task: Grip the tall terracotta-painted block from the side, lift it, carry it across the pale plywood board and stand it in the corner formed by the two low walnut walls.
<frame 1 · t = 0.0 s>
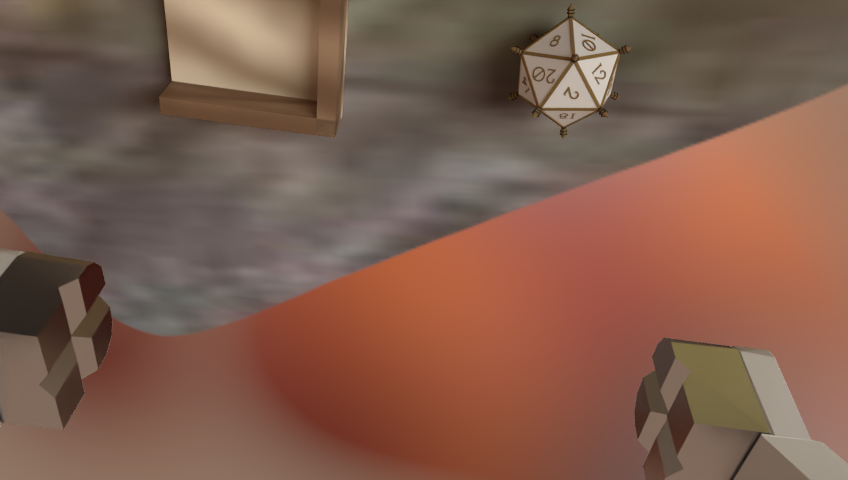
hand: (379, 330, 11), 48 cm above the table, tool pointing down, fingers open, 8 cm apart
game die: (562, 51, 58), on the table
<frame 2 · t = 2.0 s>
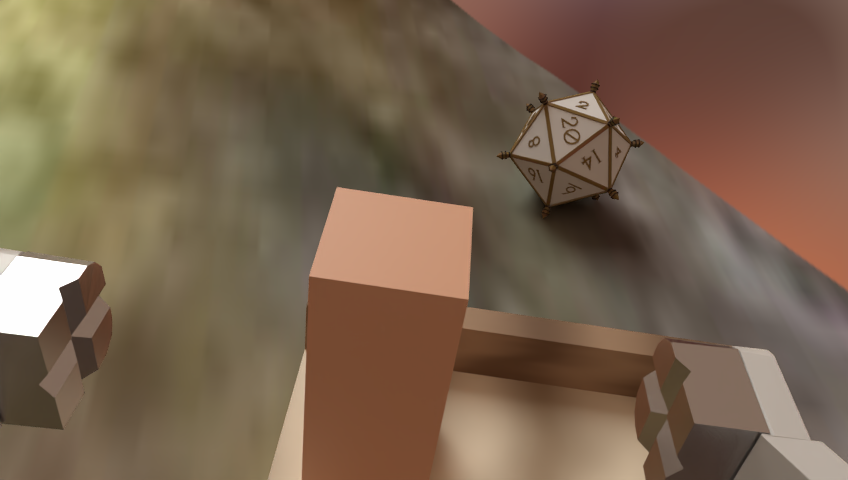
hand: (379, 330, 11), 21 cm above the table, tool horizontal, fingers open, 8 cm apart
terracotta block: (369, 453, 32), point 1 cm above the table, touching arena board
game die: (555, 200, 52), on the table
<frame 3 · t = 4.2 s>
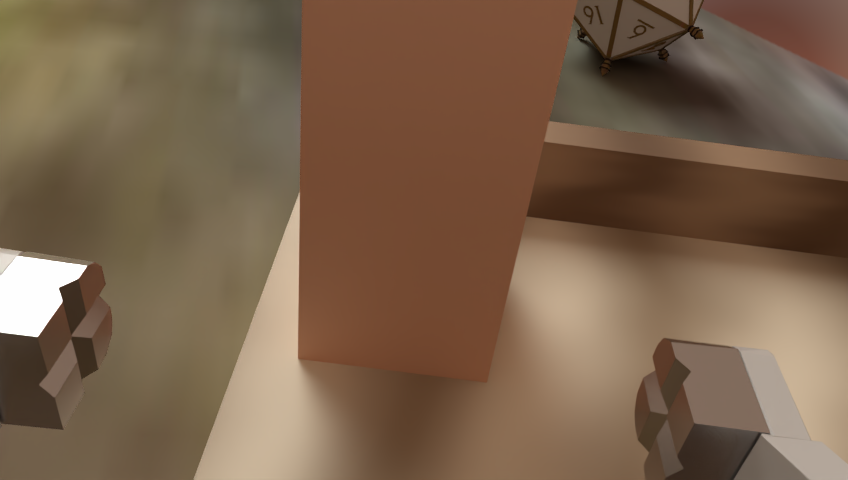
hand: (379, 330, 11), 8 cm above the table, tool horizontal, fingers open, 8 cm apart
terracotta block: (401, 307, 21), point 1 cm above the table, touching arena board
game die: (614, 61, 42), on the table
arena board: (630, 361, 22), on the table
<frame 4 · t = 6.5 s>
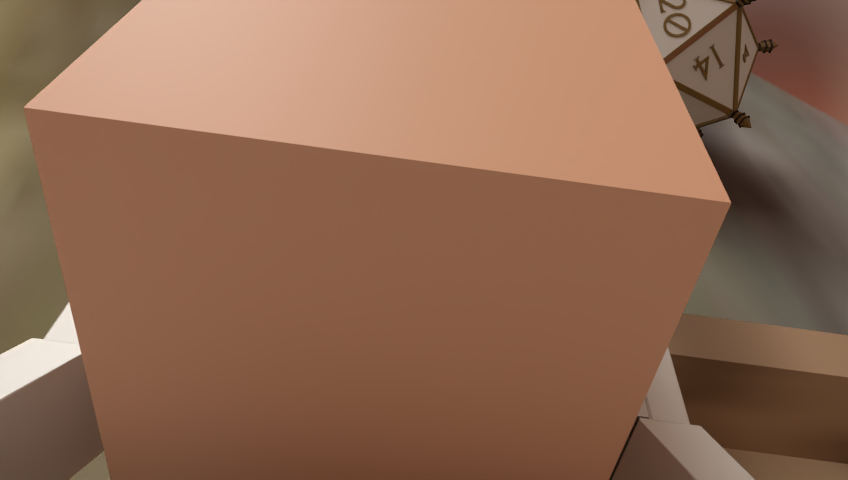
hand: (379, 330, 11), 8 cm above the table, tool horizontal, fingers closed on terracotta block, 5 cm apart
game die: (636, 141, 34), on the table
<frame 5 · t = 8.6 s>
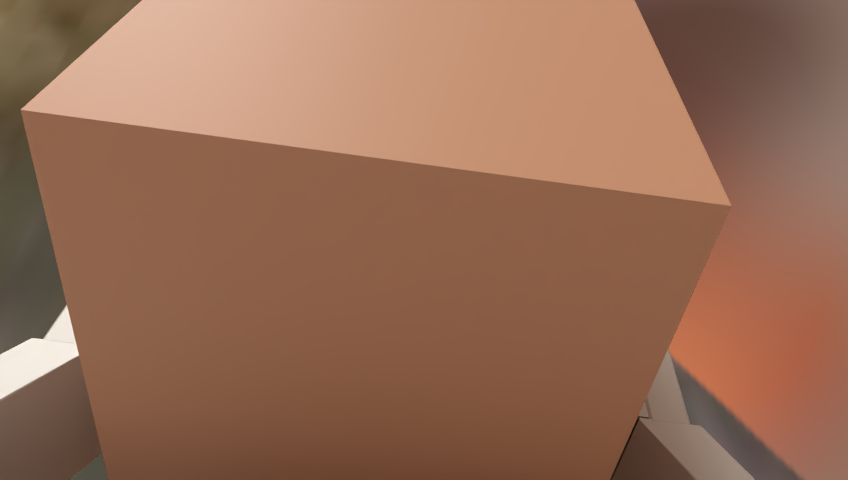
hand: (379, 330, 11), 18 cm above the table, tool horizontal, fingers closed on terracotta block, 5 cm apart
when the fingers open (9 cm above the table, at t = 11.1 s): terracotta block drops 1 cm, resting on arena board.
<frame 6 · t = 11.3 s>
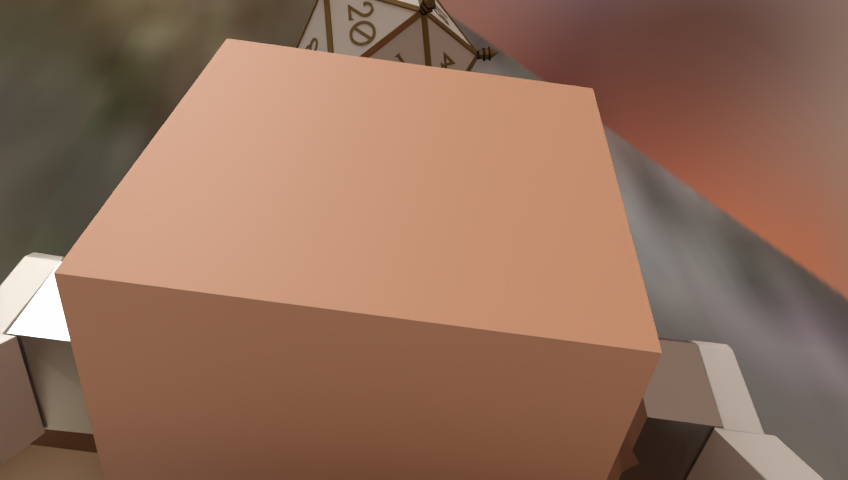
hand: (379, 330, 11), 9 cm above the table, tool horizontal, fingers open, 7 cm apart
game die: (374, 149, 34), on the table
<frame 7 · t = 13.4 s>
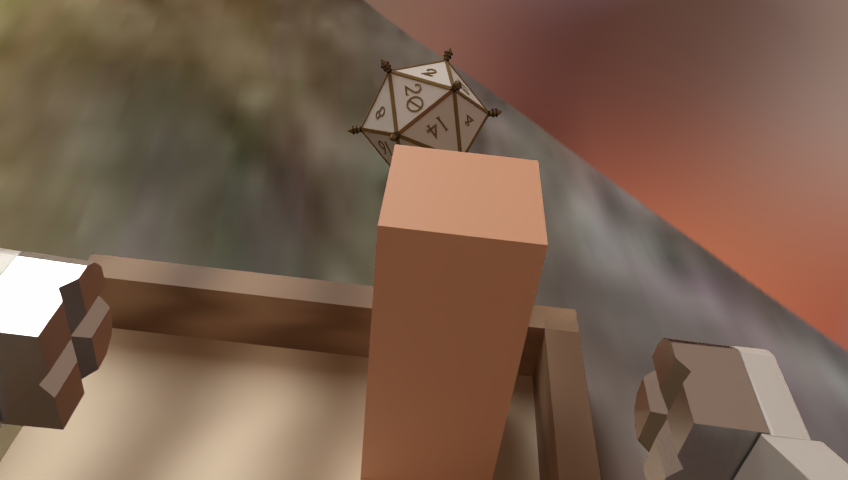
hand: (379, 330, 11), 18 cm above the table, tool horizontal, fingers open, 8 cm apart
terracotta block: (428, 435, 31), point 1 cm above the table, touching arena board
game die: (418, 177, 50), on the table
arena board: (302, 465, 30), on the table
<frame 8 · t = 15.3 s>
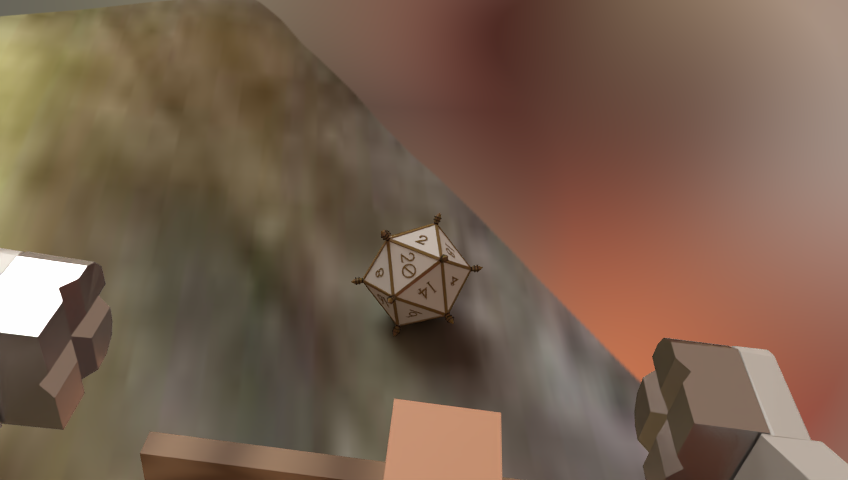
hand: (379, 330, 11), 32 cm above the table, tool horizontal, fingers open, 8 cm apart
game die: (411, 315, 58), on the table
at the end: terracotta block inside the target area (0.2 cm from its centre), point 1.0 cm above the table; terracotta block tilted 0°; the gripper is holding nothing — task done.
